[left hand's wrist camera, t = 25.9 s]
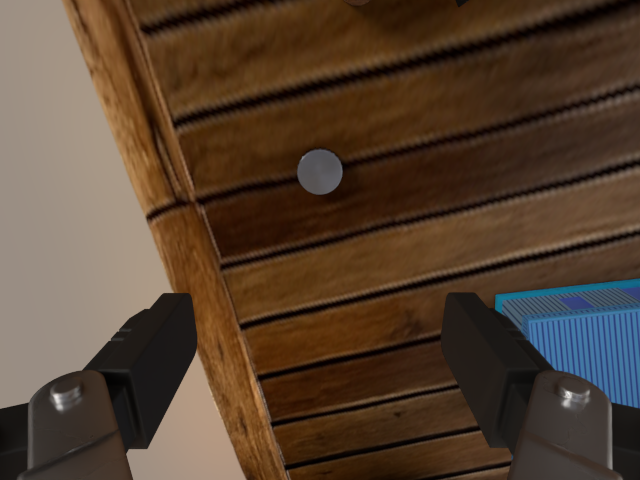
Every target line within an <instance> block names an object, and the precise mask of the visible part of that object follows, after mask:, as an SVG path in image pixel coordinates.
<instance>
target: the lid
mask: <svg viewBox="0 0 640 480" xmlns="http://www.w3.org/2000/svg"><path fill="white" fill-rule="evenodd" d="M340 162H341V161H340V159H338V156H337V155H335V154H334V152H332V151H330V149H329V150H328V149H326V148H321V147H320V148H316V147H315V148H314V149H310V150H309V151H308V152H306V153H305V154H304V155H303V156H302V158H301V159H300V163H298V169H297V173H298V174H297V176H298V180H299V181H300V183H301V185H302V186H303V187H304V188H305V189H306V190H307V191H308V192H310V193H313V194H318V195H322V194H327V193H329V192H331V191H333V190H334V189H335V188H336V187H337V186H338V185H339V183H340V181H341V178H342V172H343V170H342V164H341V163H340Z"/></svg>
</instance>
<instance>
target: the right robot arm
mask: <svg viewBox="0 0 640 480" xmlns="http://www.w3.org/2000/svg"><path fill="white" fill-rule="evenodd" d="M467 1H469V0H456V2H457V5H458V7H460V6H461V5H463V4H464V3H466V2H467Z"/></svg>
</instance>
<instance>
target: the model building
mask: <svg viewBox="0 0 640 480" xmlns="http://www.w3.org/2000/svg"><path fill="white" fill-rule="evenodd" d="M495 310H496V311H498V312H500V313H501V314H503V315H505V316H506V317H508V318H509V319H510V320H511V321H512V322H513V324H514V325H515V326H516V327H517V328H518V331H521V332H522V333H523V335H524V336H525V337H526V340H529V341H530V342H531V343H532V345H533V346H534V347H535V348H536V349H537V350H538V351H539V352H540V353H541V355H542V356H543V357H544V358H545V359H546V360H547V361H548V362H549V363H550V364H551V366H552V367H553V368H554V369H555V370H558V371H564V372H568V373H571V374H574V375H577V376H580V377H582V378H584V379H586V380H588V381H589V382H591V383H593V384H594V385H596V386H597V387H598V388H600V389H601V390H602V391H603V392H604V393H605V394H606V395H607V397H608V398H609V400H610V402H613V403H618V404H622V405H627V406H631V407H636V408H640V279H631V280H622V281H613V282H604V283H595V284H586V285H577V286H568V287H559V288H550V289H541V290H533V291H524V292H515V293H506V294H497V295H496V299H495ZM512 459H513V455H512Z"/></svg>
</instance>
